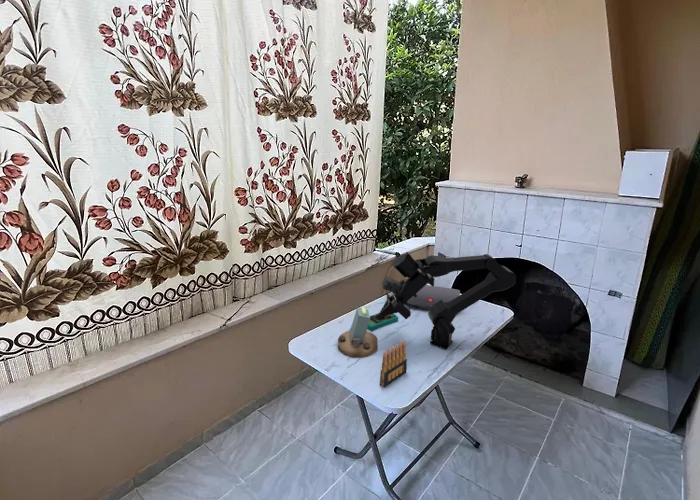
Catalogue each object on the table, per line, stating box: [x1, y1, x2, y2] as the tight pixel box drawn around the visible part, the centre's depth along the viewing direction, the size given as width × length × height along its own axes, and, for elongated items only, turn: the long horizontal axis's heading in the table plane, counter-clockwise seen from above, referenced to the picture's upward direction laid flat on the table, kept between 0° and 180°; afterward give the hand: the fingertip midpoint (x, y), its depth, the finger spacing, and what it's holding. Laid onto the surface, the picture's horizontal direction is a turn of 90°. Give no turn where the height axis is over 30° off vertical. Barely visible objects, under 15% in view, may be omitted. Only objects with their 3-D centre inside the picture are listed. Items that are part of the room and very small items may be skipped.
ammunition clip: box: [379, 339, 408, 389], centre depth 115 cm, size 11×2×12 cm, turn 134°
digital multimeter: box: [367, 312, 399, 332], centre depth 150 cm, size 7×15×3 cm, turn 126°
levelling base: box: [337, 330, 379, 359], centre depth 133 cm, size 14×14×6 cm
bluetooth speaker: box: [408, 284, 461, 310], centre depth 161 cm, size 23×9×10 cm, turn 73°
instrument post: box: [349, 306, 371, 343], centre depth 131 cm, size 4×6×11 cm, turn 5°
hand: (379, 315), depth 131 cm, fingers closed
